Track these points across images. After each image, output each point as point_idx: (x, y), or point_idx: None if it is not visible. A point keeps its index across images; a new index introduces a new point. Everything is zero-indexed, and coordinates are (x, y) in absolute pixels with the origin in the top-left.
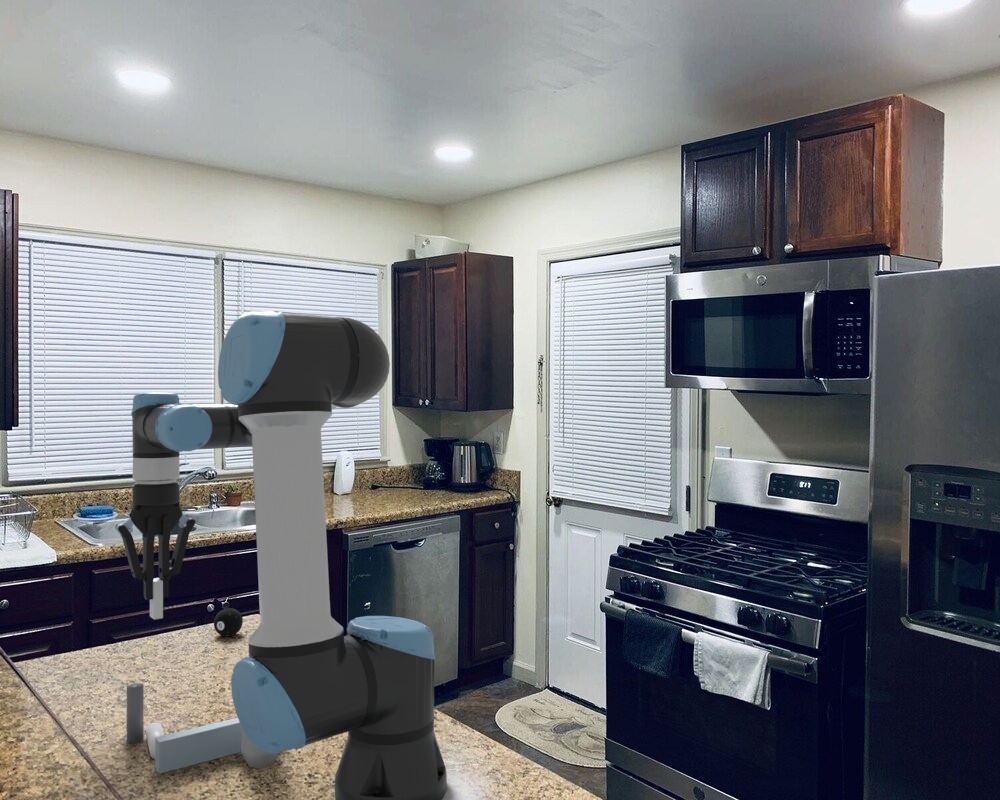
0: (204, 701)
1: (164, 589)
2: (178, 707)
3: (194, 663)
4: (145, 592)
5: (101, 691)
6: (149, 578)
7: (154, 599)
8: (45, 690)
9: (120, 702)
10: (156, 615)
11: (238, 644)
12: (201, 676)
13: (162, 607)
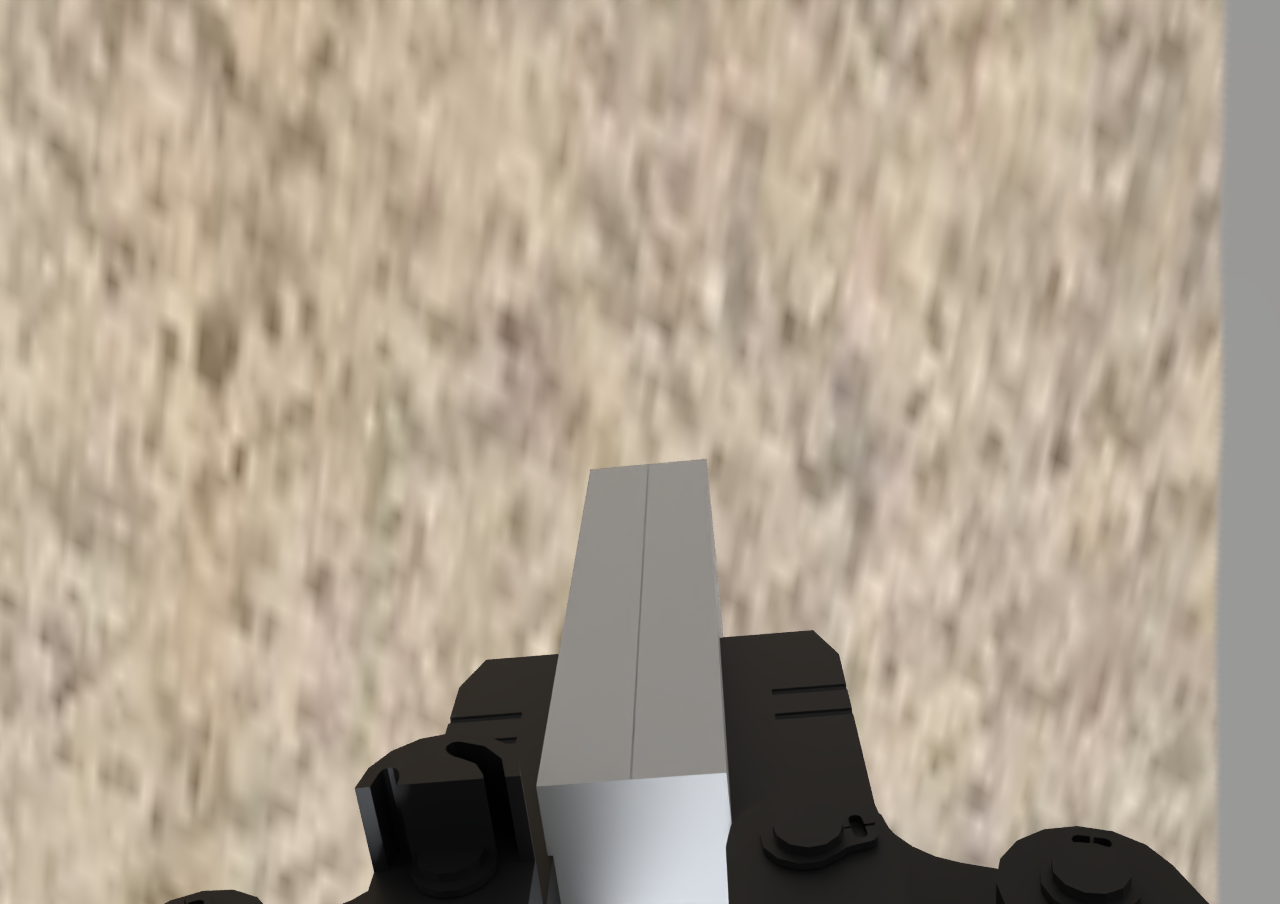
0: (357, 181)
1: (520, 730)
2: (537, 159)
3: (343, 900)
4: (850, 716)
5: (931, 703)
6: (828, 821)
7: (704, 585)
8: (1208, 873)
9: (865, 456)
10: (673, 479)
11: None
12: (325, 660)
13: (586, 529)
